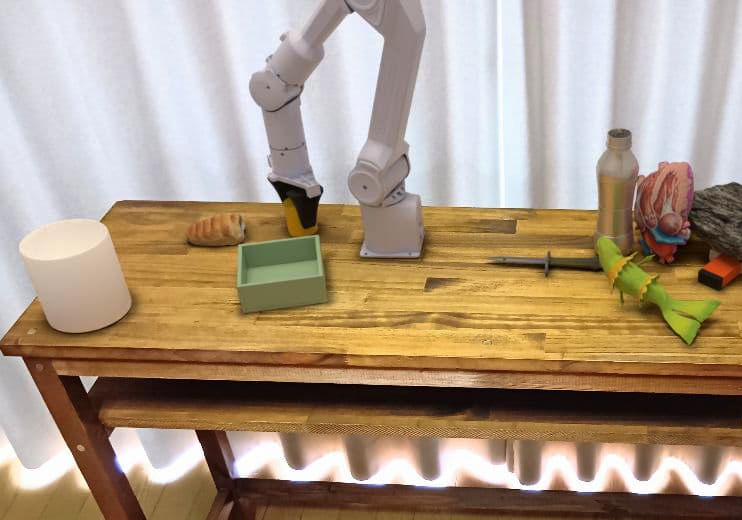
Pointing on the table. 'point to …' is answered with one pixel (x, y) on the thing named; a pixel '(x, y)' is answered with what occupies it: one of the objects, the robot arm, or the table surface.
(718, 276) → the toy
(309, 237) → the basket
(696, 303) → the toy
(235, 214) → the pastry
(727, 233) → the rock
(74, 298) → the cup
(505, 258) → the knife
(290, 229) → the pepper
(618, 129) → the plastic bottle
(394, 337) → the table surface
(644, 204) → the anatomical model
